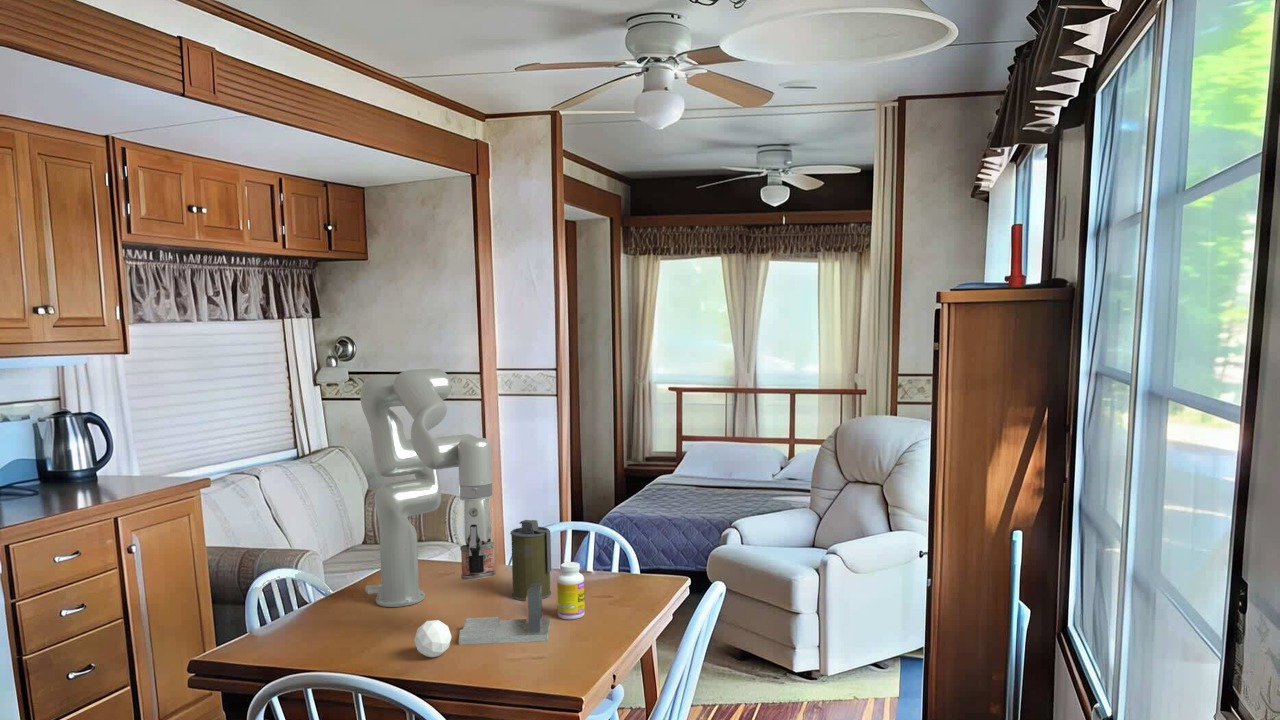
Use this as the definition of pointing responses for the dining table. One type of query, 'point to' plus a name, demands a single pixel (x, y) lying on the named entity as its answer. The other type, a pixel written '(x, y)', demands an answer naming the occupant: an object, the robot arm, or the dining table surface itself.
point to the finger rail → (509, 625)
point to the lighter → (487, 558)
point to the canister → (530, 559)
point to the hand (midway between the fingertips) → (478, 568)
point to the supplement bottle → (570, 592)
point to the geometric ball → (432, 638)
